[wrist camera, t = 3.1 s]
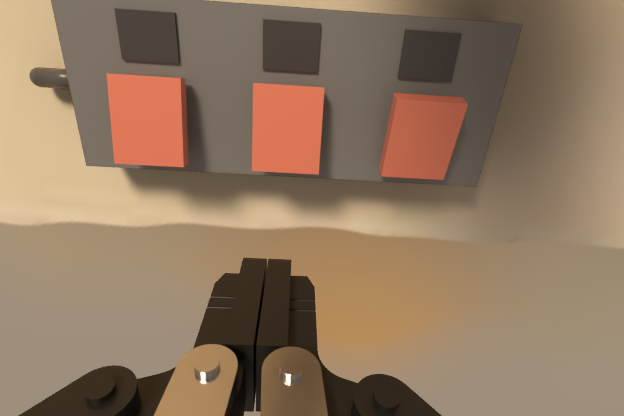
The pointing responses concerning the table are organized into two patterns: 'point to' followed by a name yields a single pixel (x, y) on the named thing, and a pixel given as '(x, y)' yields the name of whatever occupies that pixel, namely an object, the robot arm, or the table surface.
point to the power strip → (282, 76)
